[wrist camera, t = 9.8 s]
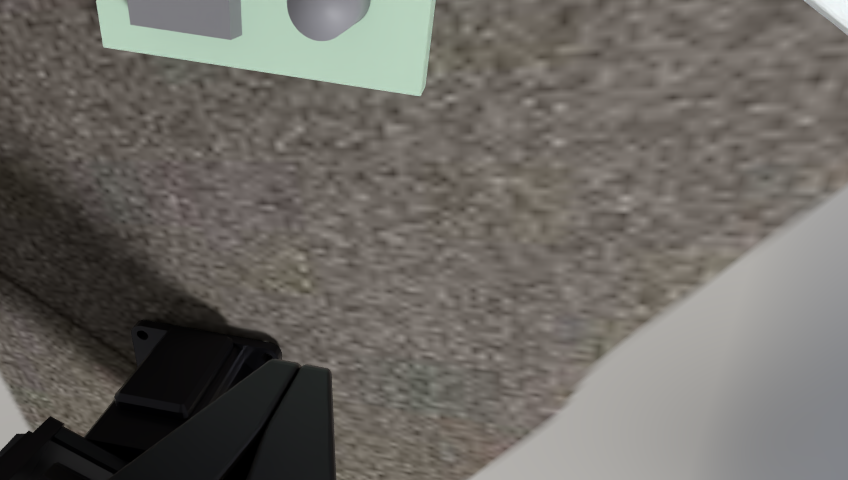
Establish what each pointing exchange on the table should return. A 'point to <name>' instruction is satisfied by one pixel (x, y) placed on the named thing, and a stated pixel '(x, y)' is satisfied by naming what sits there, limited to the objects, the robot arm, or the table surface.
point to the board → (284, 37)
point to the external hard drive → (833, 11)
